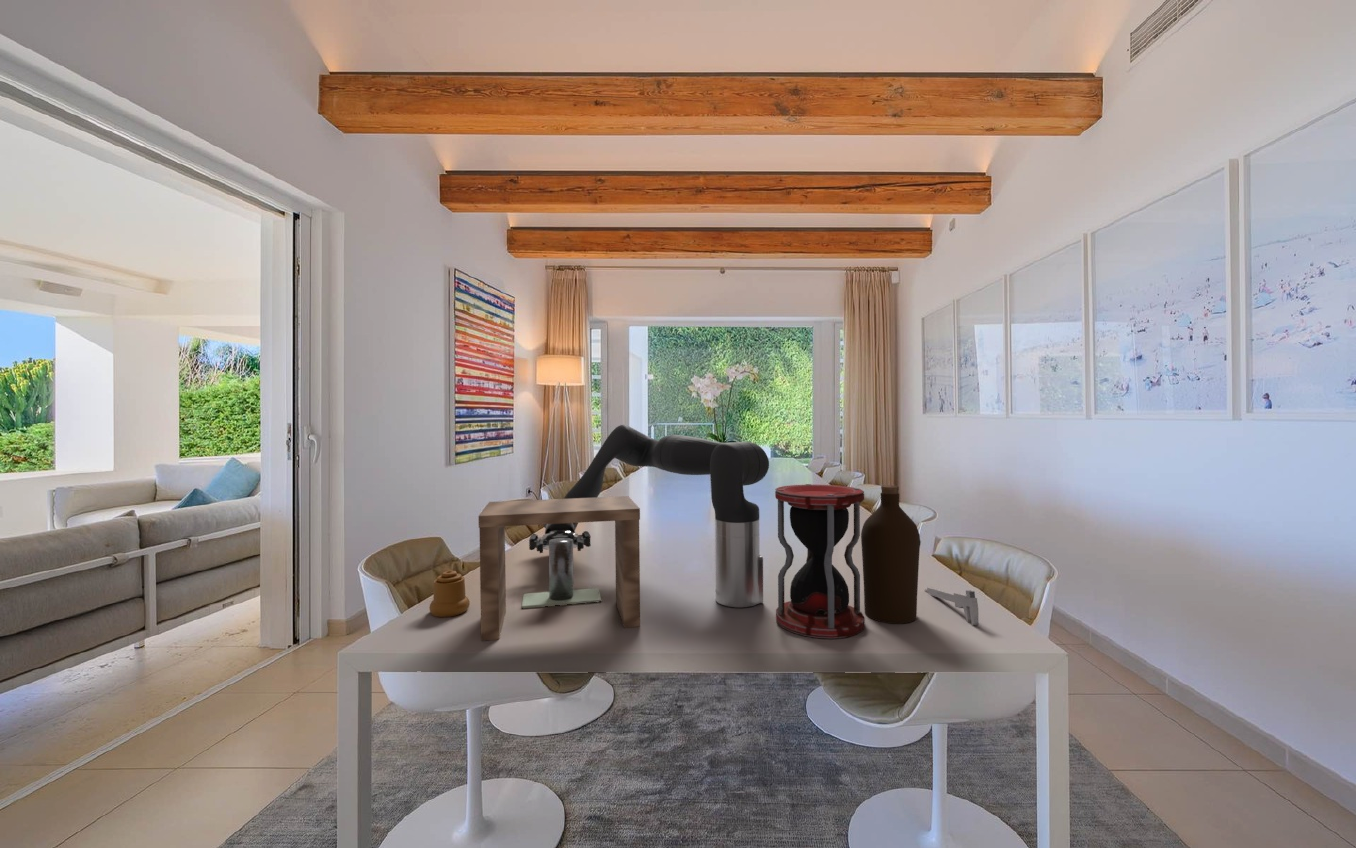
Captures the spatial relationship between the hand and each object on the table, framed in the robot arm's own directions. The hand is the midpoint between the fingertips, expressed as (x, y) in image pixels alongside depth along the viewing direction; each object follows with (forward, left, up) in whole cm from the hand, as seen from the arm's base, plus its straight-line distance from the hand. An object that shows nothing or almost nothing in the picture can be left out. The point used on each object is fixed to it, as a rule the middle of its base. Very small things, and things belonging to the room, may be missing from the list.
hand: (560, 547), depth 127 cm
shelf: (0, +21, -9) cm, 23 cm away
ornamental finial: (+22, +11, -9) cm, 26 cm away
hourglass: (-47, +34, -9) cm, 59 cm away
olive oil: (-62, +34, -9) cm, 71 cm away
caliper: (-76, +33, -9) cm, 83 cm away
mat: (0, +9, -9) cm, 13 cm away
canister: (0, +9, -8) cm, 12 cm away
